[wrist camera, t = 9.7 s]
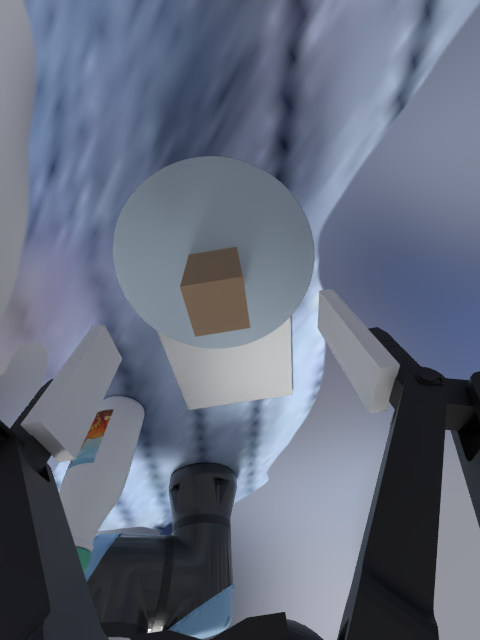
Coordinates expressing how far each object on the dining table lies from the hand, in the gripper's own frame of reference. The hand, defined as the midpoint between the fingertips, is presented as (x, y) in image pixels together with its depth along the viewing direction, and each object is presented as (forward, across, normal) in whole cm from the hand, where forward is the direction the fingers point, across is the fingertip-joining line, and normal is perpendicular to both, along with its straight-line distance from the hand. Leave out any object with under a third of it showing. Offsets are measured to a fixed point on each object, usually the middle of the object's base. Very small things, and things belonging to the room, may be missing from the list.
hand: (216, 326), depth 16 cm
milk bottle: (+16, +21, +24) cm, 36 cm away
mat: (+16, +1, +18) cm, 24 cm away
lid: (+9, 0, 0) cm, 9 cm away
